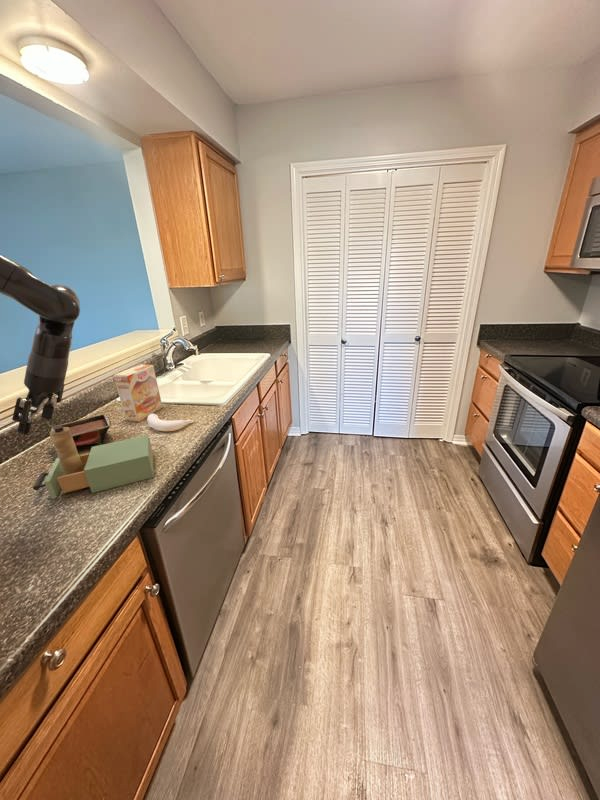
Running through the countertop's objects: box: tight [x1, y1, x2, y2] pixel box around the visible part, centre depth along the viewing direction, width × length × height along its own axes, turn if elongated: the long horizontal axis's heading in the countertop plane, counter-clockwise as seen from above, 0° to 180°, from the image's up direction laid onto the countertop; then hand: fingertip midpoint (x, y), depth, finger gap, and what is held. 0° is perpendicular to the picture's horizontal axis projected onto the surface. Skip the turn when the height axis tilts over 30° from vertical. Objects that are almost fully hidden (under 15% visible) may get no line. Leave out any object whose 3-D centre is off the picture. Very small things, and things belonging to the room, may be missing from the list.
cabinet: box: [84, 434, 155, 494], centre depth 96 cm, size 16×14×7 cm
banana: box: [146, 413, 195, 432], centre depth 126 cm, size 5×19×15 cm
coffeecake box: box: [113, 364, 163, 422], centre depth 134 cm, size 15×7×20 cm, turn 164°
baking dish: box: [49, 413, 112, 447], centre depth 114 cm, size 14×18×10 cm
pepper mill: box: [49, 425, 84, 475], centre depth 89 cm, size 4×4×16 cm
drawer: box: [32, 452, 90, 500], centre depth 91 cm, size 18×13×5 cm
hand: (35, 425), depth 82 cm, fingers open, 8 cm apart
